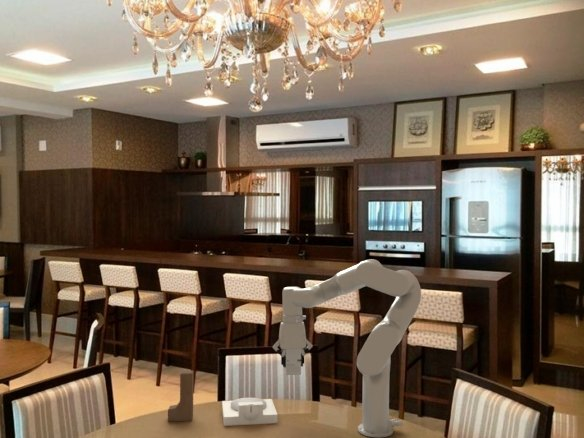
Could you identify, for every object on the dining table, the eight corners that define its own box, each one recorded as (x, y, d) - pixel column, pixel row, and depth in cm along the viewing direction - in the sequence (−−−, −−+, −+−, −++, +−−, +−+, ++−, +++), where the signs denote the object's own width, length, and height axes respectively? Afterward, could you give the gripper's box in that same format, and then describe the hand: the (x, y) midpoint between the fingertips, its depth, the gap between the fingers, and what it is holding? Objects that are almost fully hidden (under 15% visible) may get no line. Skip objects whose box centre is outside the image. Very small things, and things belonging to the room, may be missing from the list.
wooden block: (167, 421, 204) (168, 373, 204) (169, 417, 208) (170, 370, 208) (191, 421, 204) (192, 373, 204) (193, 417, 209) (193, 370, 209)
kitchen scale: (271, 406, 221) (271, 388, 221) (277, 423, 203) (277, 403, 203) (222, 409, 218) (222, 390, 218) (223, 426, 199) (223, 405, 199)
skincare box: (285, 375, 205) (285, 343, 205) (284, 372, 210) (284, 341, 210) (301, 374, 206) (301, 343, 206) (300, 371, 211) (299, 340, 211)
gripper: (312, 316, 213) (312, 362, 213) (268, 318, 210) (269, 364, 210) (316, 320, 206) (316, 367, 206) (271, 321, 203) (271, 369, 203)
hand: (292, 365), depth 208 cm, fingers closed on skincare box, 6 cm apart
